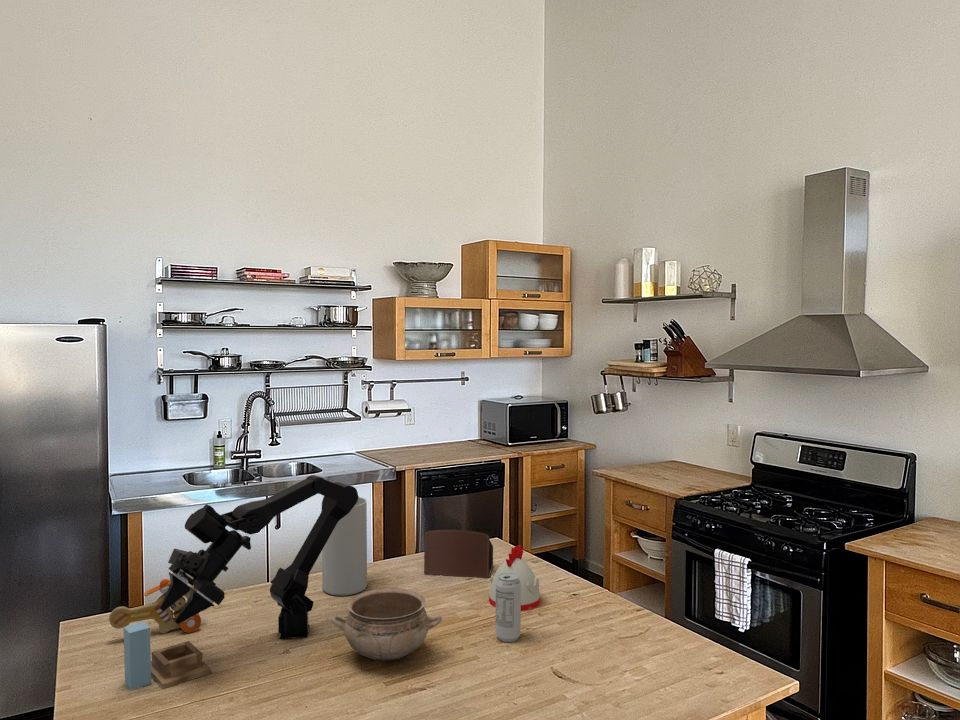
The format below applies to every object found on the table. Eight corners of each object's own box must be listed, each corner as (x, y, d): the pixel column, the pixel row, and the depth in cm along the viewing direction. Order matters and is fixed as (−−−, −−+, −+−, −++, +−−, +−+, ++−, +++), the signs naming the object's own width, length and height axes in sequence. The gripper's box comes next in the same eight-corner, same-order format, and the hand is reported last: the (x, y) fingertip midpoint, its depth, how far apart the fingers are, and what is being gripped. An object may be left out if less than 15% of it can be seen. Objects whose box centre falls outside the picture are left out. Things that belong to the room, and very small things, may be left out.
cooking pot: (444, 637, 172) (444, 587, 172) (439, 676, 153) (439, 620, 153) (340, 637, 172) (339, 587, 172) (323, 675, 153) (322, 620, 153)
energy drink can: (525, 637, 172) (525, 576, 171) (509, 645, 168) (509, 582, 167) (506, 629, 176) (507, 570, 175) (490, 637, 172) (490, 576, 171)
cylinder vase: (362, 596, 197) (362, 507, 196) (317, 596, 197) (316, 507, 196) (370, 580, 210) (369, 496, 208) (328, 580, 210) (327, 496, 209)
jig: (190, 653, 163) (189, 636, 163) (211, 672, 154) (210, 654, 154) (144, 668, 156) (143, 650, 156) (163, 688, 148) (162, 670, 147)
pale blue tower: (145, 676, 153) (143, 621, 152) (151, 683, 150) (149, 627, 149) (124, 682, 150) (123, 627, 149) (130, 690, 147) (129, 633, 147)
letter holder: (489, 579, 212) (489, 532, 211) (423, 575, 215) (423, 529, 214) (493, 567, 222) (493, 522, 221) (430, 564, 224) (430, 520, 224)
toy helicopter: (206, 629, 176) (205, 575, 175) (111, 650, 165) (110, 592, 164) (199, 618, 183) (198, 565, 182) (108, 637, 172) (106, 581, 171)
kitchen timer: (548, 598, 197) (549, 544, 196) (524, 615, 185) (524, 558, 184) (505, 588, 204) (505, 536, 203) (479, 604, 193) (479, 549, 192)
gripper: (177, 525, 163) (126, 584, 156) (209, 544, 150) (155, 610, 143) (211, 552, 169) (164, 610, 162) (245, 572, 155) (195, 637, 148)
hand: (168, 616), depth 154 cm, fingers open, 9 cm apart
